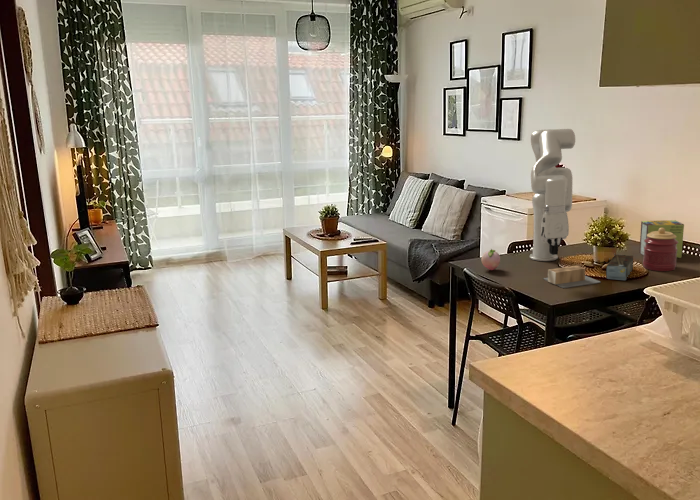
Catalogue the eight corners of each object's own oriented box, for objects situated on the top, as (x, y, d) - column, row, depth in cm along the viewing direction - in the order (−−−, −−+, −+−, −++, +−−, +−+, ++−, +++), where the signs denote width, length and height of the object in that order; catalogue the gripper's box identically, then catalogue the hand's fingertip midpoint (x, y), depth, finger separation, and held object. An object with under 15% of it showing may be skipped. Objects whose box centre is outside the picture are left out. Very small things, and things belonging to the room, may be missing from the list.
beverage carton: (605, 279, 243) (605, 263, 242) (613, 267, 259) (614, 253, 257) (626, 281, 239) (627, 265, 238) (633, 269, 255) (634, 254, 253)
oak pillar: (548, 269, 242) (577, 265, 245) (547, 281, 243) (577, 277, 246) (555, 272, 237) (585, 268, 240) (554, 284, 238) (584, 280, 241)
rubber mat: (542, 279, 247) (543, 278, 247) (579, 274, 251) (579, 273, 251) (563, 288, 234) (563, 287, 234) (600, 282, 238) (600, 281, 238)
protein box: (682, 257, 267) (684, 224, 264) (645, 258, 270) (648, 225, 266) (673, 252, 277) (676, 219, 274) (638, 252, 280) (640, 220, 276)
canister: (677, 272, 246) (680, 231, 242) (642, 270, 251) (645, 230, 247) (675, 264, 257) (678, 225, 253) (642, 262, 263) (644, 224, 259)
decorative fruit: (481, 267, 269) (481, 246, 267) (500, 267, 267) (500, 246, 265) (480, 273, 260) (480, 251, 258) (500, 273, 258) (500, 251, 256)
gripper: (543, 212, 228) (542, 258, 232) (577, 208, 232) (575, 254, 236) (532, 209, 235) (532, 254, 239) (565, 206, 239) (564, 250, 243)
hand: (553, 253), depth 238 cm, fingers closed
